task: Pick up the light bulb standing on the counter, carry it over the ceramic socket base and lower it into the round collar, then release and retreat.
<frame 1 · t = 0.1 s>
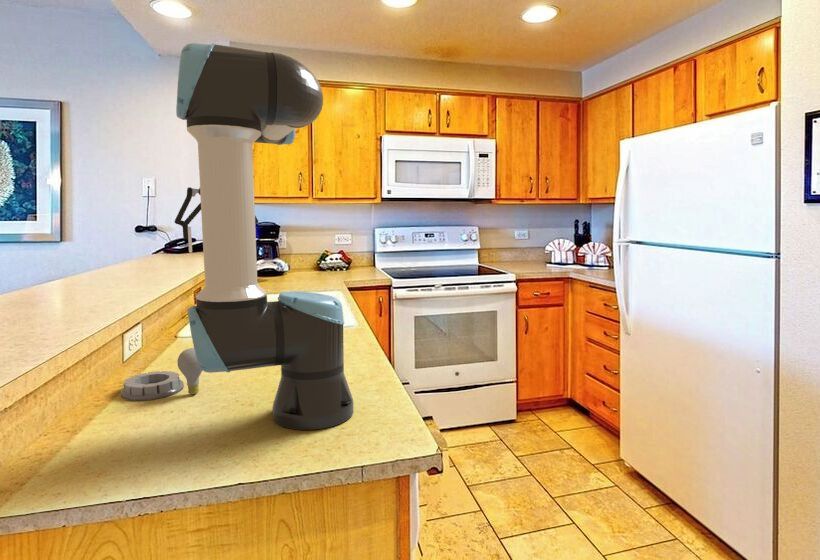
hand: (218, 251, 130), 28 cm above the worktop, fingers open, 13 cm apart
light bulb: (193, 395, 104), on the worktop
socket: (153, 390, 107), on the worktop
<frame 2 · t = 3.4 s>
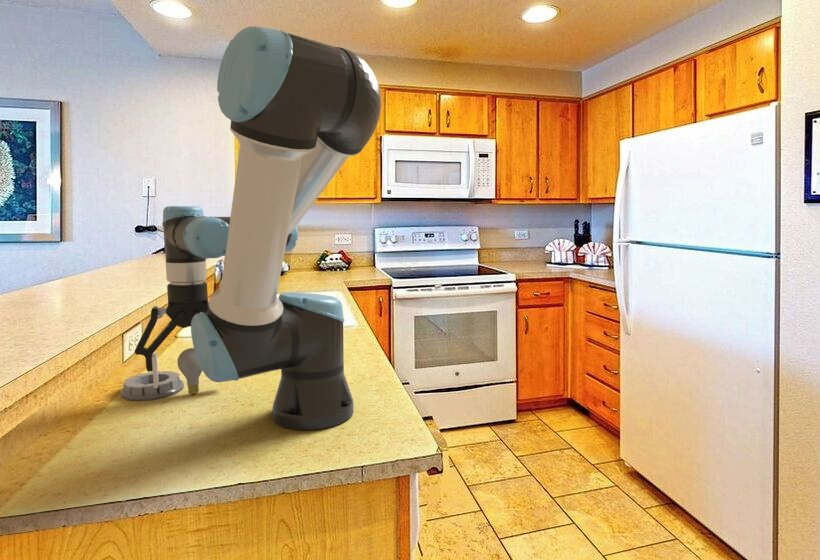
hand: (192, 381, 104), 3 cm above the worktop, fingers open, 13 cm apart
nothing on the worktop moved.
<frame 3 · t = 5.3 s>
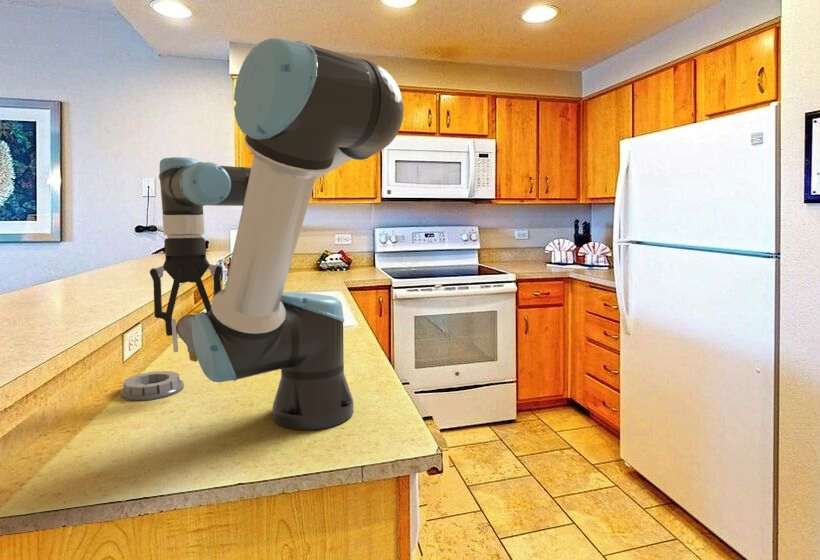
hand: (192, 348, 103), 10 cm above the worktop, fingers closed on light bulb, 5 cm apart
light bulb: (195, 362, 103), point 7 cm above the worktop, touching gripper
when the fingers open (4 cm above the worktop, at t = 9.0 s): light bulb stays where it is, resting on socket.
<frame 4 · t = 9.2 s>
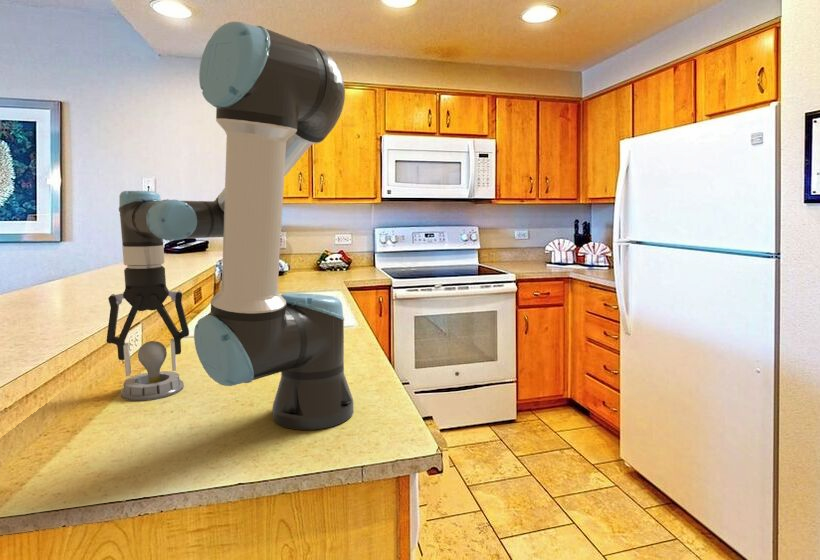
hand: (151, 371, 106), 4 cm above the worktop, fingers open, 8 cm apart
light bulb: (154, 387, 107), point 1 cm above the worktop, touching socket
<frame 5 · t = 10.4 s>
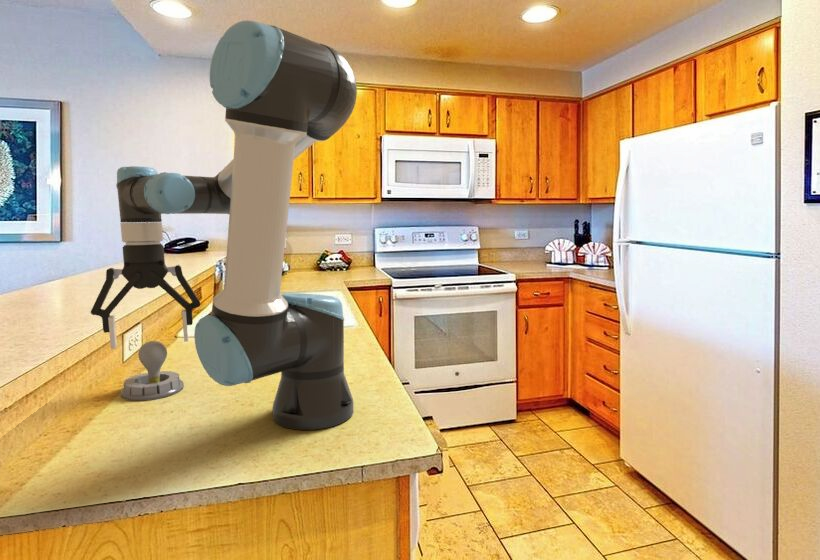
hand: (151, 343, 105), 10 cm above the worktop, fingers open, 13 cm apart
nothing on the worktop moved.
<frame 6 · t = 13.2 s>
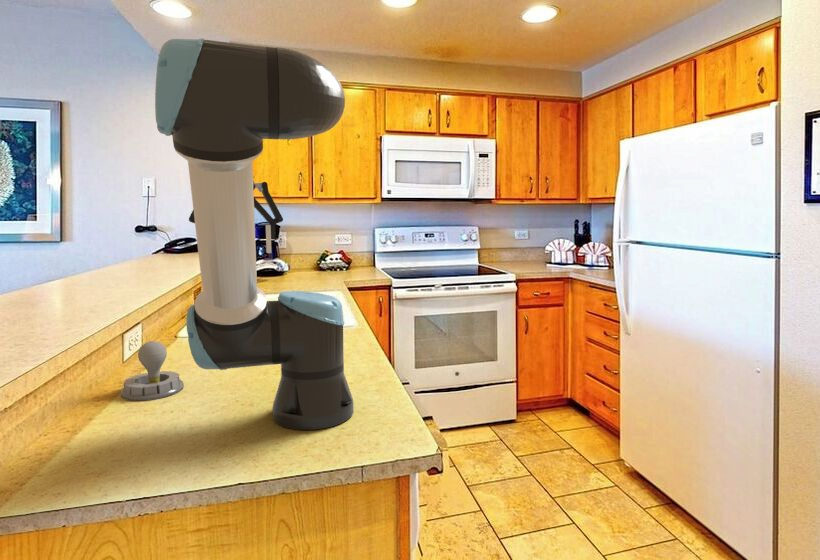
hand: (238, 253, 114), 29 cm above the worktop, fingers open, 13 cm apart
nothing on the worktop moved.
at the end: light bulb 0.4 cm from the socket (horizontally); light bulb touching socket; light bulb tilted 0° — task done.
